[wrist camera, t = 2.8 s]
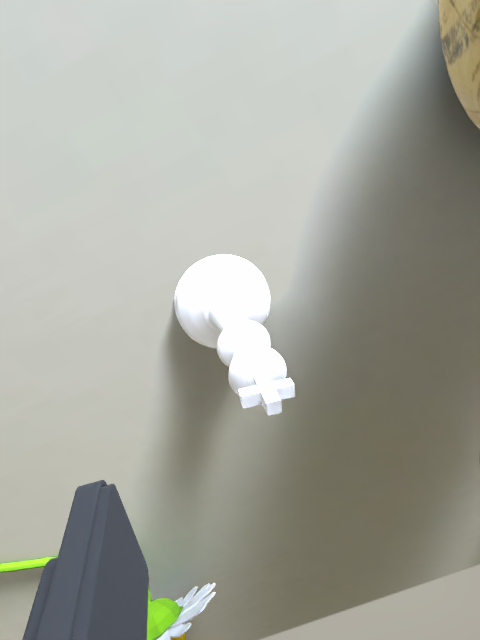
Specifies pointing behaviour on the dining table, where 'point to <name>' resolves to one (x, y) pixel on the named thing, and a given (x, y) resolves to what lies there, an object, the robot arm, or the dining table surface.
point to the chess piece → (235, 327)
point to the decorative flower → (151, 606)
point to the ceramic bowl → (462, 51)
